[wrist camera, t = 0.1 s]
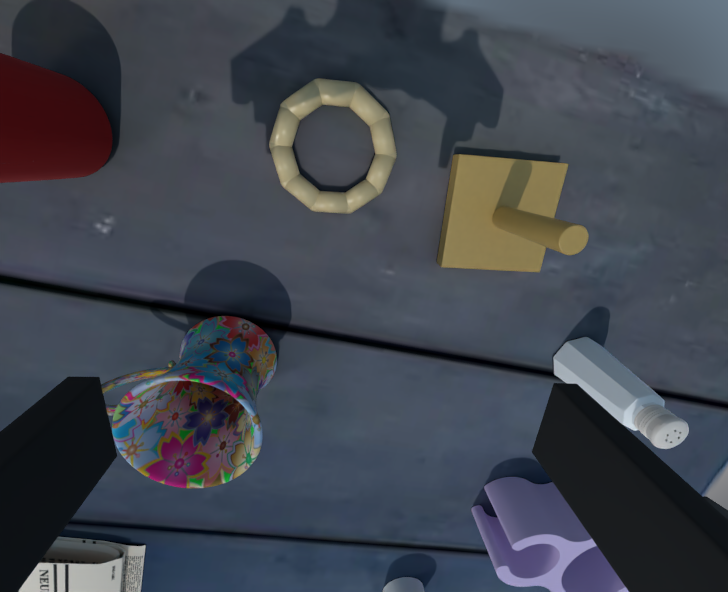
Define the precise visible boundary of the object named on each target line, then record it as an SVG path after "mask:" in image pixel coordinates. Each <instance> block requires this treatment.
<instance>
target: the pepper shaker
mask: <svg viewBox="0 0 728 592" xmlns="http://www.w3.org/2000/svg"><path fill="white" fill-rule="evenodd" d="M553 360H554V374H555V375H556V376H557V377H559V378H560V379H562V380H563V381H564V382H566V383H567V384H578V385H579V386H580V387H581V388H582V389H583V390H584V391H585V392H587V393H588V394H589V395H590V396H591V397H592V398H593V399H594V400H595V401H597V402H598V403H599V404H600V405H601V406H602V407H603V408H604V409H605V410H607V411H608V412H609V413H610V414H611V415H612V416H613V417H614V418H615V419H617V420H618V421H619V422H620V423H621V424H623V425H625V426H626V427H628V428H630V429H632V430H634V431H636V430H640V432H641V433H642V434H643V435H644V436H646V438H648V439H649V440H650V441H651V442H652V444H653V445H654V446H656V447H658V448H662V449H669V448H673V447H675V446H677V445H678V444H680V443H681V442H682V441H683V440H684V439H685V438H686V437H687V435H688V432H689V427H688V424H687V423H686V421H684V420H683V419H681V418H679V417H676V416H675V414H673V413H672V412H670V411H669V410H667V409H665V408H664V403H665V401H664V400H663V399H662V398H661V397H660V396H659V395H658V394H657V393H656V392H655V391H653V390H652V389H651V388H650V387H649V386H648V385H646V384H645V383H644V382H643V381H642V380H641V379H639V378H638V377H637V376H636V375H635V374H634V373H632V372H631V371H630V370H629V369H628V368H627V367H626V366H624V365H623V364H622V363H621V362H620V361H619V360H617V359H616V358H615V357H614V356H613V355H612V354H610V353H609V352H608V351H607V350H606V349H605V348H604V347H602V346H601V345H600V344H598V343H596V342H595V341H593V340H592V339H590V338H588V337H582V338H579V339H575V340H571V341H567V342H566V343H565V344H564V345H563V346H562V347H561V349H560V350H559V351H558V352H557V353H556V354H555V356H554V357H553Z"/></svg>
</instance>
